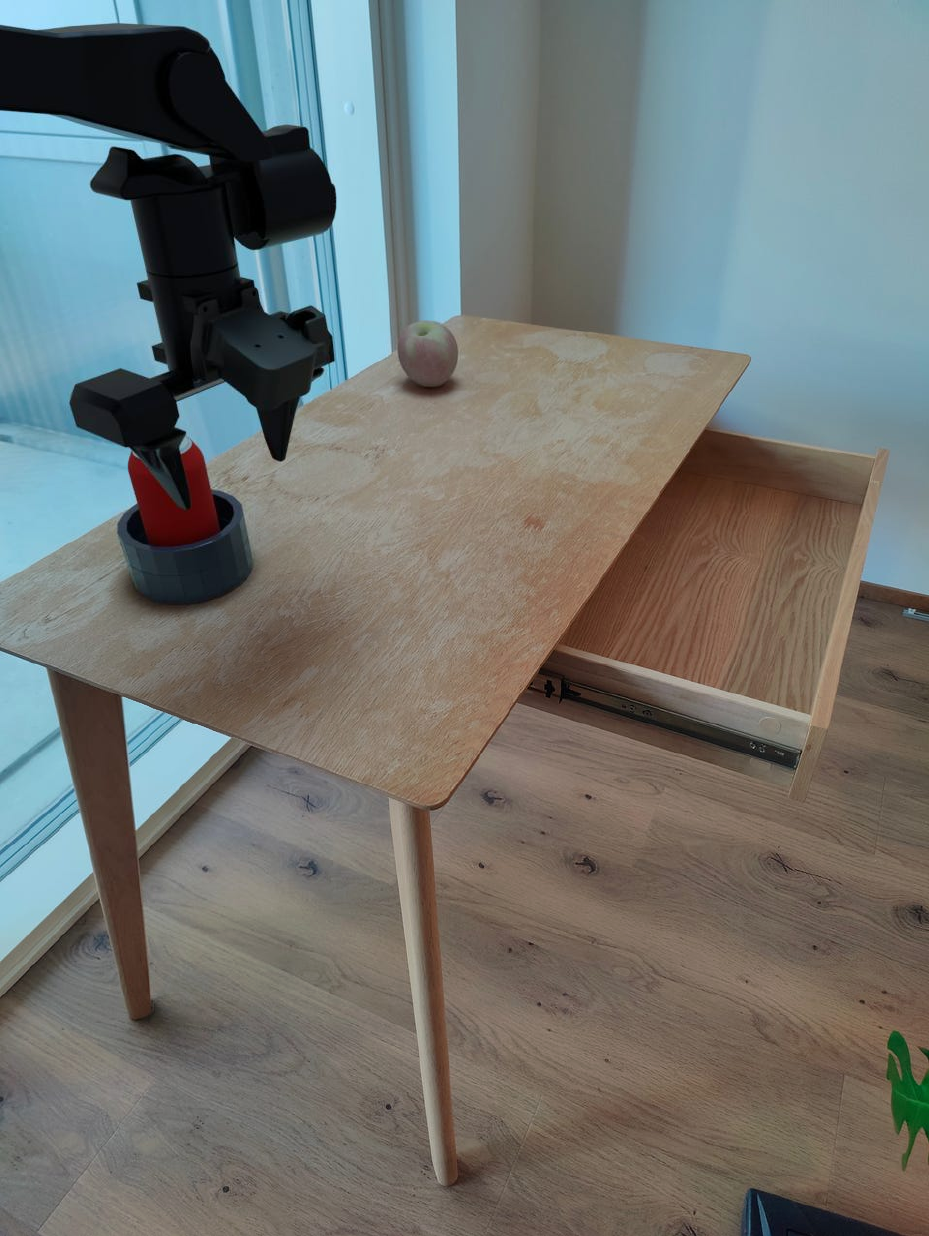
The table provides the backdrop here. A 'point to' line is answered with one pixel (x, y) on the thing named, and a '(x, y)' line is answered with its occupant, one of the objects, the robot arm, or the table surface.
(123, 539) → the pot
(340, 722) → the table surface
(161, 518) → the beverage can
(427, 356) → the apple
